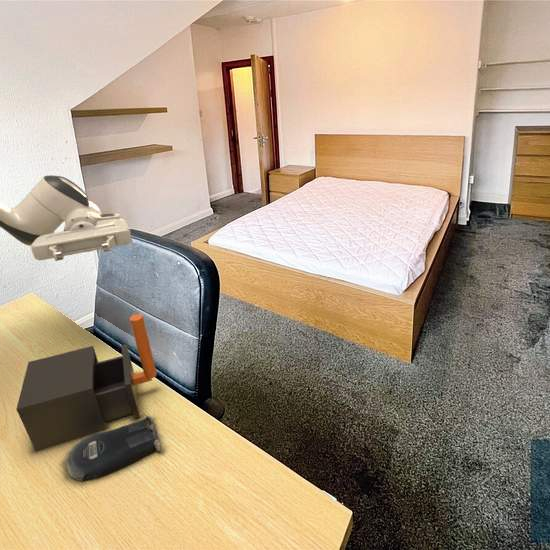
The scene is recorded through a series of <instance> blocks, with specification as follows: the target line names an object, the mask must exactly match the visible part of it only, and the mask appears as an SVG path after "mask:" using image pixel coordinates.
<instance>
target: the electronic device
mask: <svg viewBox="0 0 550 550" xmlns="http://www.w3.org/2000/svg"><path fill="white" fill-rule="evenodd" d="M155 452H161V443H160V442H159V438H158V435H157V432H156V424H155V422H154V421H153V418H152V416H151V414H149V413H148V414H147V415H146V416H145V417H144V418H142V419H140V420H137V421H135V422H132V423H129V424H127V425H123V426H120V427H117V428H114V429H111V430H107V431H102V432H97V433H93V434H90V435H88V436H86V437H85V438H83V439H82V440H80V441H78V442H77V443H76V444H75V445H74V446H73V447H72V448H71V449H70V451H69V454H68V457H67V459H66V460H65V461H66V462H65V464H66V468H67V472H68V476H69V477H70V478H72V479H74V480H76V481H80V482H85V481H89V480H94V479H99V478H100V477H105V476H106V475H109V474H111V473H114V472H116V471H119V470H121V469H123V468H125V467H128V466H130V465H132V464H135V463H137V462H138V461H140V460H142V459H143V458H145V457H147V456H149V455H151V454H153V453H155Z"/></svg>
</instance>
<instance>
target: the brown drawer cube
mask: <svg viewBox="0 0 550 550" xmlns="http://www.w3.org/2000/svg"><path fill="white" fill-rule="evenodd" d="M97 362H99V359H98V357H97V353H96V349H95V347H94V345H90V346H85V347H83V348H78V349H75V350H71V351H67V352H62V353H58V354H54V355H50V356H47V357H43V358H39V359H34V360H31V361H28V363H27V366H26V370H25V374H24V378H23V382H22V385H21V390H20V394H19V397H18V401H17V405H16V410H15V411H16V412H17V414H18V416H19V418H20V420H21V422H22V425H23V427H24V429H25V431H26V433H27V435H28V438H29V440H30V442H31V444H32V447H33V449H34V451H35V452H38V451H42V450H44V449H48V448H51V447H54V446H57V445H60V444H64V443H66V442H70V441H73V440H77V439H80V438H82V437H87V436H91V435H94V434H97V433H100V432H101V431H102V432H103V431H105V430H107V421H106V422H105V421H104V418H103V415H102V412H101V409H100V406H99V403H98V400H97V397H96V394H95V391H94V363H97Z"/></svg>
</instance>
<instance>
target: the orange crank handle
mask: <svg viewBox="0 0 550 550" xmlns="http://www.w3.org/2000/svg"><path fill="white" fill-rule="evenodd" d="M129 321H130V325H131V330H132V334H133V338H134V341H135V344H136V349H137V353H138V356H139V359H140V364H141V367H142V371H141V372H138V373H135V371H134V367H133V364H132V360H131V356H130V352H129V349H128V345H127V343H126V344H121V355H120V356H116V357H113V358H109V359H104V360H101V361H98V362H97V363H94V391H95V394H96V397H97V400H98V403H99V406H100V409H101V412H102V415H103V418H104V421H105V422H106V423H107V422H109V421H112V420H116V419H119V418H122V417H125V416H129V415H132V414H133V418H134V419H137V418H140V417H141V415H140V414H141V413H140V407H139V399H138V390H137V386H138V385H141V384H145V383H149V382H151V381H153V379H154V378H156V377H157V374H158V372H157V369H156V365H155V364H156V363H155V361H154V356H153V352H152V348H151V344H150V340H149V335H148V332H147V328H146V324H145V319H144V315H143V314H141V313H135V314H132V315H131V316H130V317H129Z"/></svg>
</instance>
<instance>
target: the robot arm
mask: <svg viewBox="0 0 550 550" xmlns="http://www.w3.org/2000/svg"><path fill="white" fill-rule="evenodd" d="M63 223H64V227H63V231H56V230H58V228H59V227H60V226H61V225H62V224H63ZM0 228H1V229H2V230H4V231H6V233H8V234H9V235H10V236H12V237H13V238H15V240H17V241H18V242H20V243H21V244H24V245H26V246H28V247H29V246H30V249H31V252H32V255H33V257H34V259H35V260H37V261H45V260H51V259H54V261H55V262H58V261H63V260H64V258H65V257H66V256H71V255H72V256H73V255H77V254H82V253H91V252H94V251H98V250H103V252H104V253H105V252H111V251H112V249H113V248H115V247H120V246H126V245H130V244H132V242H133V238H132V235H131V229H130V226H129V224H128V223H127V221H126V220H124V219H122V217H121V215H120V213H103V212H102V210H101V209H100V208H99V207H98V205H96V204H95V203H93V202H92V201H90V200H89V198H88V195H87V193H86V192H85V191H84V190H83V189H82V188H81V187H80V186H78V184H76V183H74V182H73V181H72V180H70V179H68V178H67V177H64V176H60V175H51V174H50V175H44V176H43V177H42V178H41V179H40V180H39V181H38V182H37V183H36V185H35V186H34V187H33V188H32V189H31V190H30V191H29V192H28V194H26V196H25V197H24V198H23V199H22V200H21V201H20V202H19V203H18V204H17V205H16V206H14V207H8V206H7V205H5V204H3V203H2V202H0ZM55 231H56V232H55Z"/></svg>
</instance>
